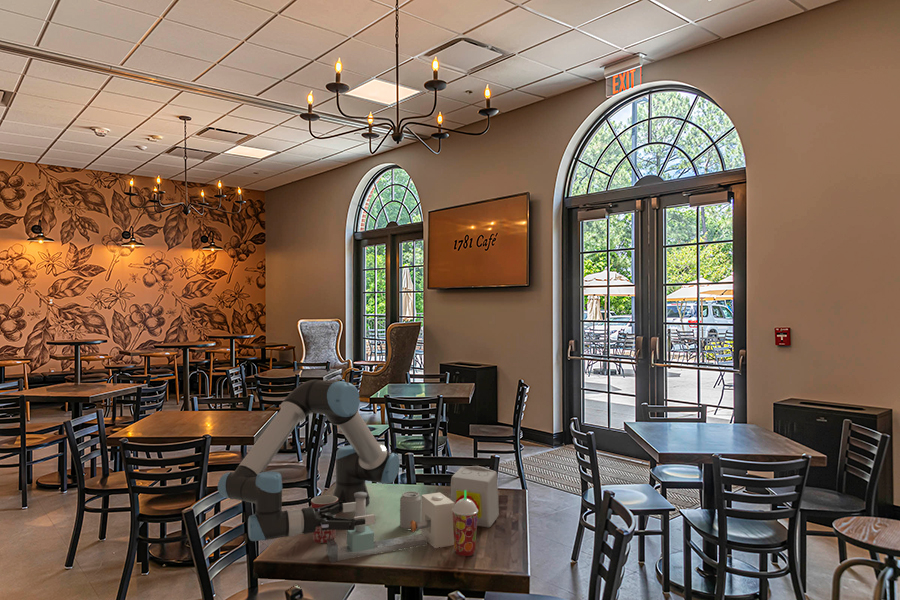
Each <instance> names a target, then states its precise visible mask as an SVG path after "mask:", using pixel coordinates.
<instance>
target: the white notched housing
mask: <svg viewBox="0 0 900 600" xmlns="http://www.w3.org/2000/svg"><path fill="white" fill-rule="evenodd" d="M420 497H421V521H425V520H431V527H429V528H423V529H420V532H421V533H420V534H422V535H423V536H424V537H425V538H426V539H427V542H428V544H429V545H431V546H432V547H433V548H434V549H440V548H444V547H451V546H454V531H453V512H452V509H453V508H454V506H455V503H454V502H453V501H451V498H449V497H448V496H445V495H444V494H443V493H442V492H440V491H439V492H432V493H426V494H421V496H420ZM439 547H440V548H439Z"/></svg>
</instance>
